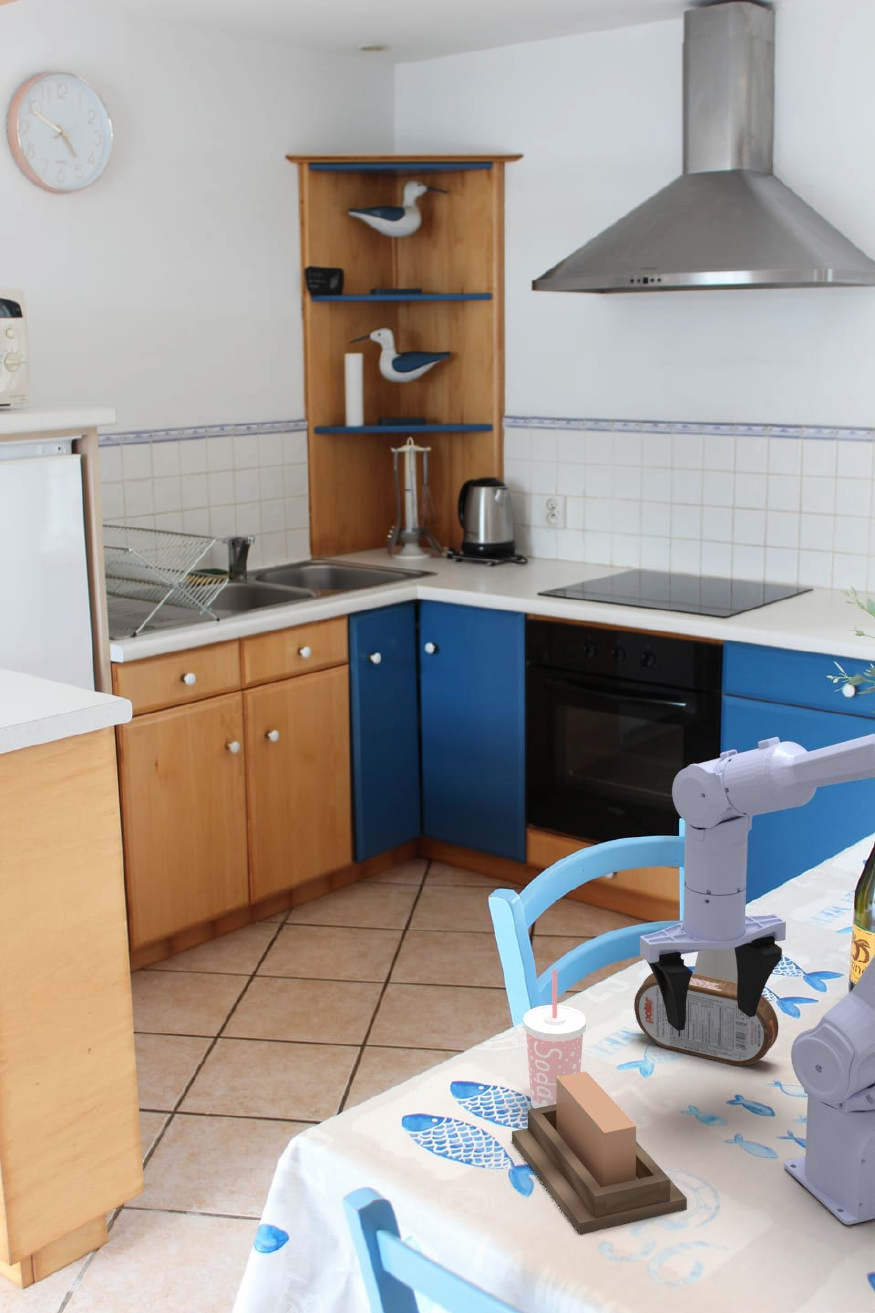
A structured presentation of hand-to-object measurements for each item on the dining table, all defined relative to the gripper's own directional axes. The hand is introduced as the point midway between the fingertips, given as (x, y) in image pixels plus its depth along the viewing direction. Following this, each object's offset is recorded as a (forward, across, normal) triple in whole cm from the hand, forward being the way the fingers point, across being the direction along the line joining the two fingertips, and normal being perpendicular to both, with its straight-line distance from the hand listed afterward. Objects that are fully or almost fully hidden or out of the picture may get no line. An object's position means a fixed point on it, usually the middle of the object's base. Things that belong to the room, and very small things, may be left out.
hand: (711, 1019), depth 130 cm
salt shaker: (+10, -14, -22) cm, 28 cm away
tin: (+10, -5, -10) cm, 15 cm away
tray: (+9, +15, +6) cm, 19 cm away
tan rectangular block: (+8, +15, +6) cm, 18 cm away
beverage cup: (+10, +14, -6) cm, 18 cm away
